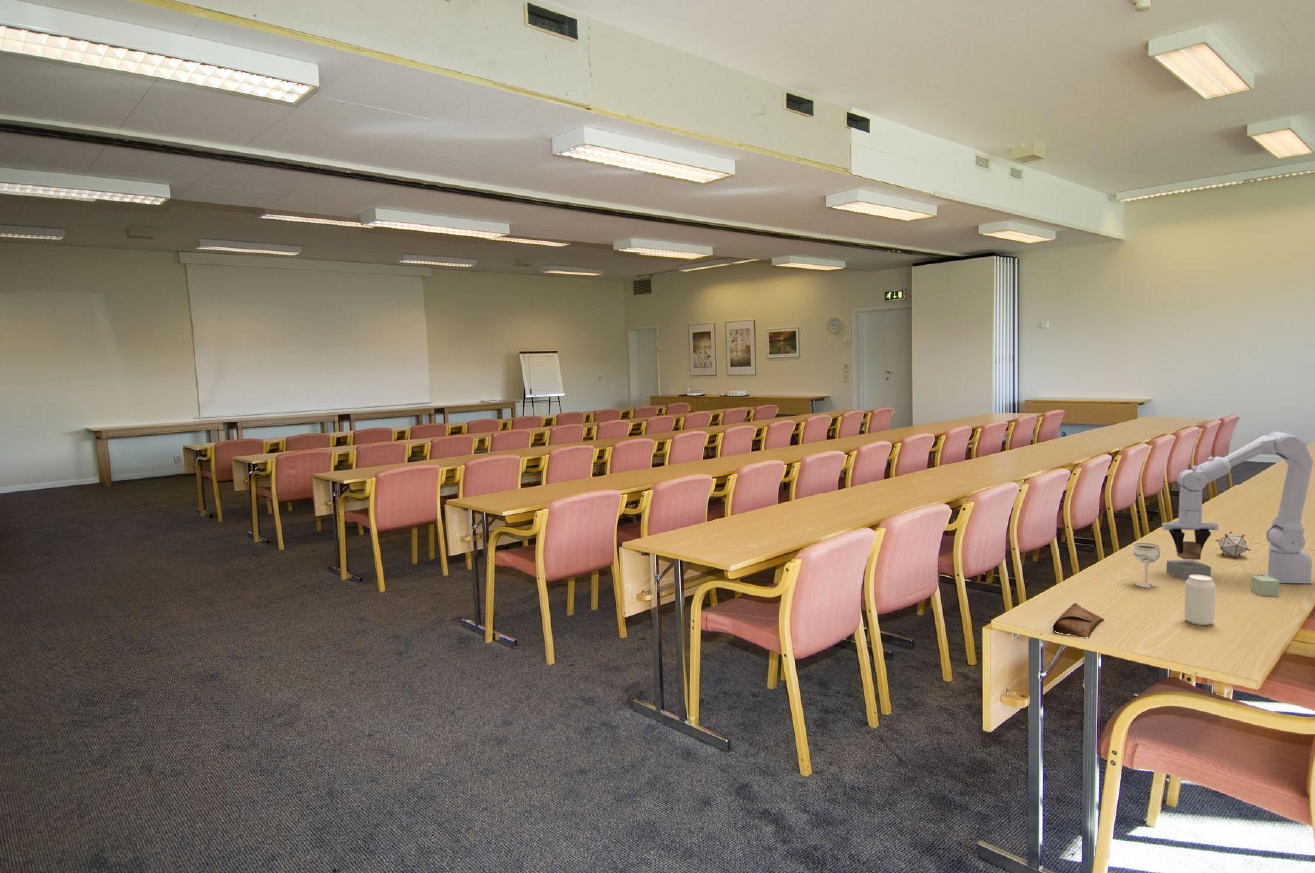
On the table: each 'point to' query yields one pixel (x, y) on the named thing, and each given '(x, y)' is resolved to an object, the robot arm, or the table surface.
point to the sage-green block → (1265, 586)
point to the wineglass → (1146, 558)
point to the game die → (1233, 545)
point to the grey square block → (1187, 568)
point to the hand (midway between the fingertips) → (1188, 552)
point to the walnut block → (1190, 550)
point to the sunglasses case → (1077, 622)
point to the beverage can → (1199, 600)
